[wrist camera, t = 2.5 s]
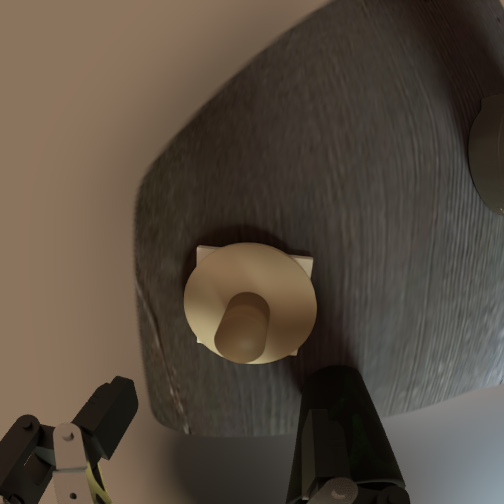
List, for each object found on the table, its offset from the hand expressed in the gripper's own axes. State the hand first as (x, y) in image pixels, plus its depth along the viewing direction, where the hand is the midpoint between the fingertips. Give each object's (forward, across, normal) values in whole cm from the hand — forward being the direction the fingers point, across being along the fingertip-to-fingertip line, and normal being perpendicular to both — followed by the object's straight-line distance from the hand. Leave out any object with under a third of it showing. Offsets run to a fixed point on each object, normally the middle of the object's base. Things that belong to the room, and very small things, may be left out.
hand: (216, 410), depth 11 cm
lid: (+10, 0, 0) cm, 10 cm away
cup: (+11, -8, +8) cm, 16 cm away
